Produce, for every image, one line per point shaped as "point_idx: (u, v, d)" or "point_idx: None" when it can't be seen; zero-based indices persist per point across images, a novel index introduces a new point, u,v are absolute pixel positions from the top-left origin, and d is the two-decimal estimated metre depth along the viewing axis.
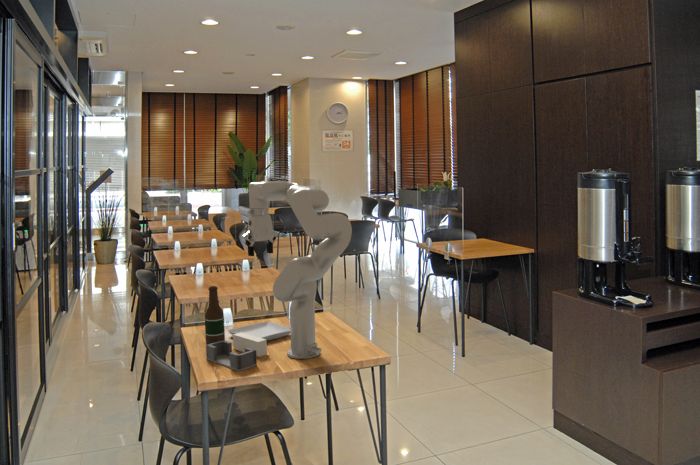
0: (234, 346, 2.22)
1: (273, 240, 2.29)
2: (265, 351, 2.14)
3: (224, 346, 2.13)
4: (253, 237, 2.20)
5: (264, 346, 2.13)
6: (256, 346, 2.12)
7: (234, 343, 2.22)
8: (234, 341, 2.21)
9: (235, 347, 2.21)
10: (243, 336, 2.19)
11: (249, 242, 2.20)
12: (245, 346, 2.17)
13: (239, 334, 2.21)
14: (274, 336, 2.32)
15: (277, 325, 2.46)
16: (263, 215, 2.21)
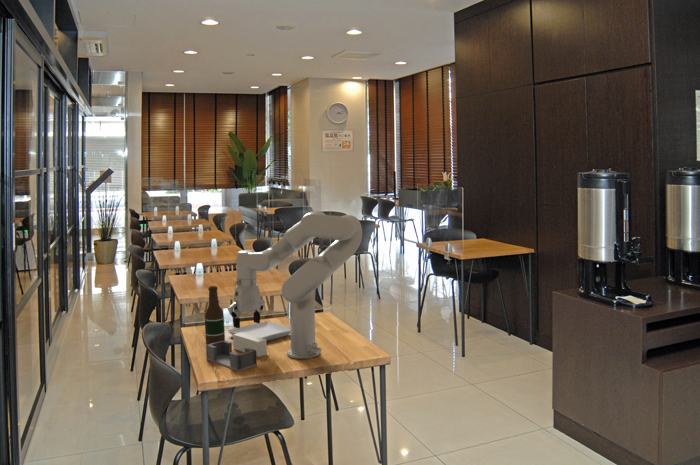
0: (234, 346, 2.22)
1: (260, 309, 2.21)
2: (265, 351, 2.14)
3: (224, 346, 2.13)
4: (239, 309, 2.11)
5: (264, 346, 2.13)
6: (255, 346, 2.12)
7: (234, 343, 2.22)
8: (234, 341, 2.21)
9: (235, 347, 2.21)
10: (243, 336, 2.19)
11: (235, 314, 2.12)
12: (245, 346, 2.17)
13: (239, 334, 2.21)
14: (274, 336, 2.32)
15: (277, 325, 2.46)
16: (250, 286, 2.13)
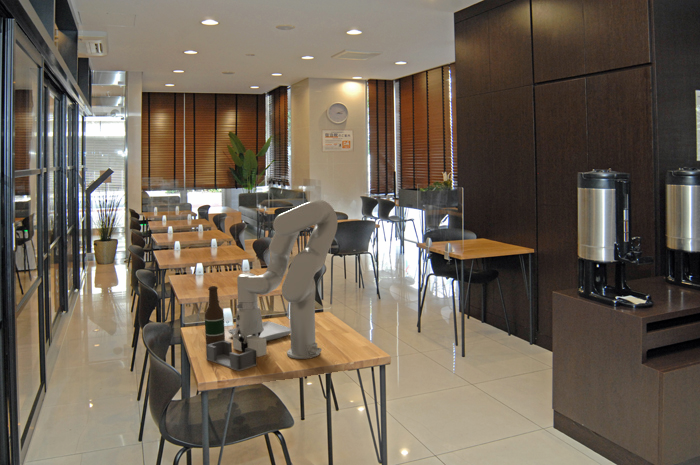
0: (234, 345, 2.22)
1: None
2: (265, 351, 2.14)
3: (224, 346, 2.13)
4: (241, 332, 2.12)
5: (264, 346, 2.13)
6: (255, 346, 2.12)
7: (233, 343, 2.22)
8: (234, 340, 2.21)
9: (235, 346, 2.21)
10: (243, 336, 2.19)
11: (242, 340, 2.14)
12: None
13: None
14: (274, 336, 2.32)
15: (277, 325, 2.46)
16: (252, 309, 2.13)
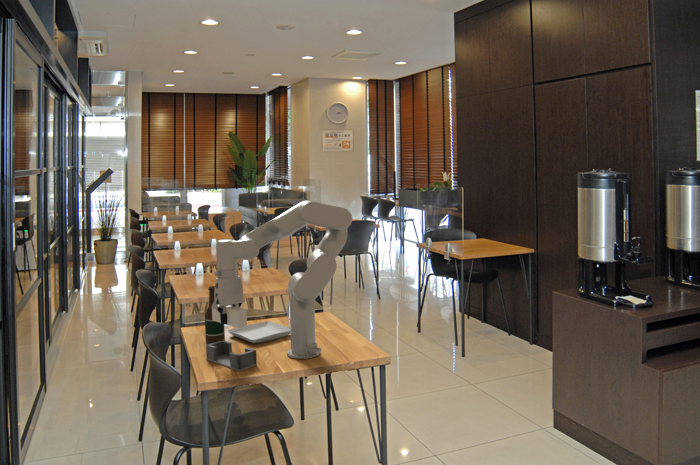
0: (213, 317, 2.08)
1: None
2: (245, 322, 2.00)
3: (224, 346, 2.13)
4: (220, 302, 1.98)
5: (244, 316, 1.99)
6: (235, 316, 1.98)
7: (212, 314, 2.08)
8: (213, 312, 2.07)
9: (214, 318, 2.07)
10: None
11: (221, 310, 2.00)
12: None
13: None
14: (274, 336, 2.32)
15: (277, 325, 2.46)
16: (231, 277, 1.99)
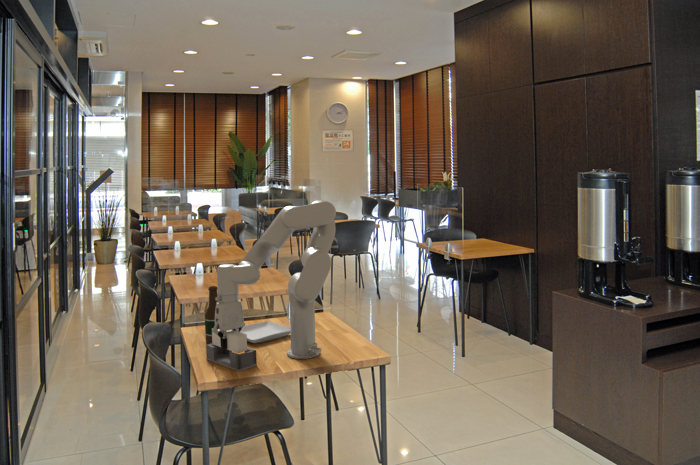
0: (213, 341, 2.08)
1: None
2: (245, 347, 2.01)
3: None
4: (220, 327, 1.99)
5: (244, 341, 2.00)
6: (235, 341, 1.99)
7: (212, 338, 2.08)
8: (213, 336, 2.08)
9: (214, 342, 2.08)
10: None
11: (221, 335, 2.01)
12: None
13: None
14: (274, 336, 2.32)
15: (277, 325, 2.46)
16: (232, 302, 2.00)
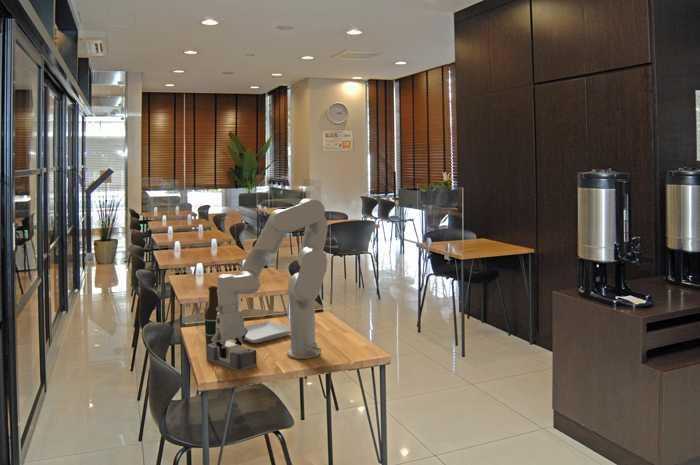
0: None
1: (242, 339, 2.08)
2: None
3: None
4: (221, 337, 2.00)
5: None
6: None
7: None
8: None
9: None
10: None
11: (220, 344, 2.01)
12: (226, 355, 2.04)
13: None
14: (274, 336, 2.32)
15: (277, 325, 2.46)
16: (233, 312, 2.01)
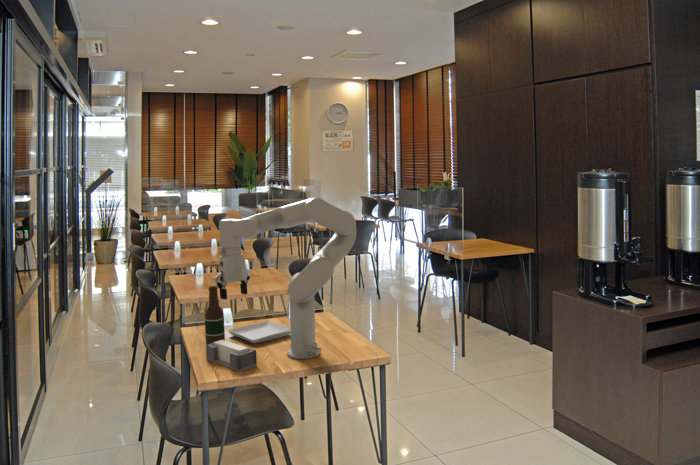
0: None
1: (247, 280, 2.14)
2: None
3: None
4: (225, 279, 2.04)
5: None
6: None
7: None
8: None
9: None
10: (224, 344, 2.06)
11: (221, 284, 2.04)
12: (226, 355, 2.04)
13: (220, 342, 2.09)
14: (274, 336, 2.32)
15: (277, 325, 2.46)
16: (235, 255, 2.05)
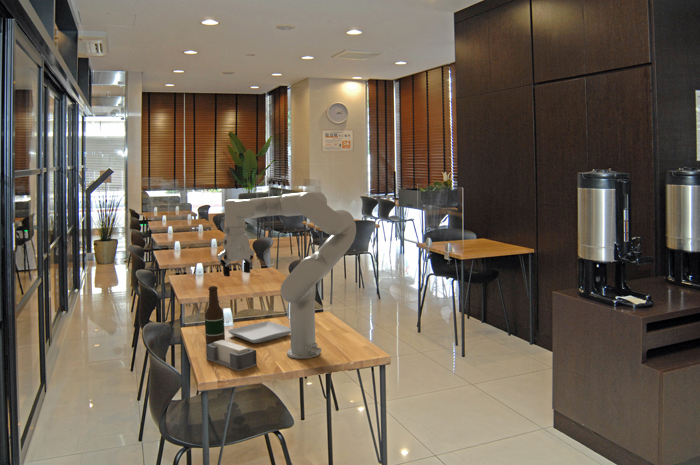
0: None
1: (250, 259, 2.21)
2: None
3: None
4: (228, 257, 2.12)
5: None
6: None
7: None
8: None
9: None
10: (224, 344, 2.06)
11: (224, 262, 2.12)
12: (226, 355, 2.04)
13: (220, 342, 2.09)
14: (274, 336, 2.32)
15: (277, 325, 2.46)
16: (239, 234, 2.13)
